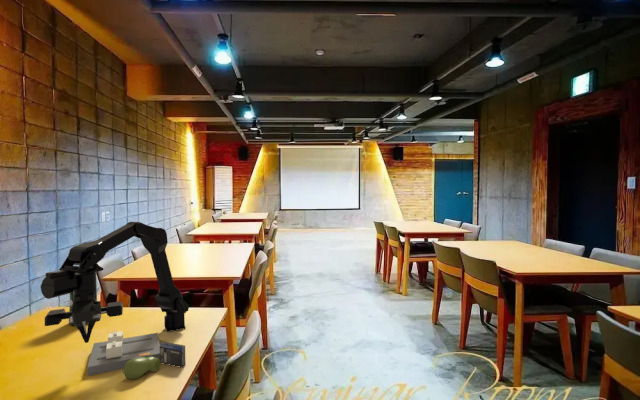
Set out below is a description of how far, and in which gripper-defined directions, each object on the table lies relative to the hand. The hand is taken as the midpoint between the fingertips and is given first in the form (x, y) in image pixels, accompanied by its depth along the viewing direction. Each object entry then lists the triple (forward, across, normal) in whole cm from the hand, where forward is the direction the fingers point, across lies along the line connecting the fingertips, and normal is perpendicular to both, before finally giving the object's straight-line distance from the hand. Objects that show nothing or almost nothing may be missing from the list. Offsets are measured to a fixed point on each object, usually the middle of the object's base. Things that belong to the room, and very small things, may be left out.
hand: (86, 342), depth 108 cm
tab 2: (+5, +7, 0) cm, 9 cm away
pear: (+8, +14, -10) cm, 20 cm away
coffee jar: (+8, -6, +46) cm, 48 cm away
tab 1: (+5, +7, +9) cm, 12 cm away
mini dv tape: (+8, +22, -8) cm, 25 cm away
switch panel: (+8, +10, +4) cm, 13 cm away
